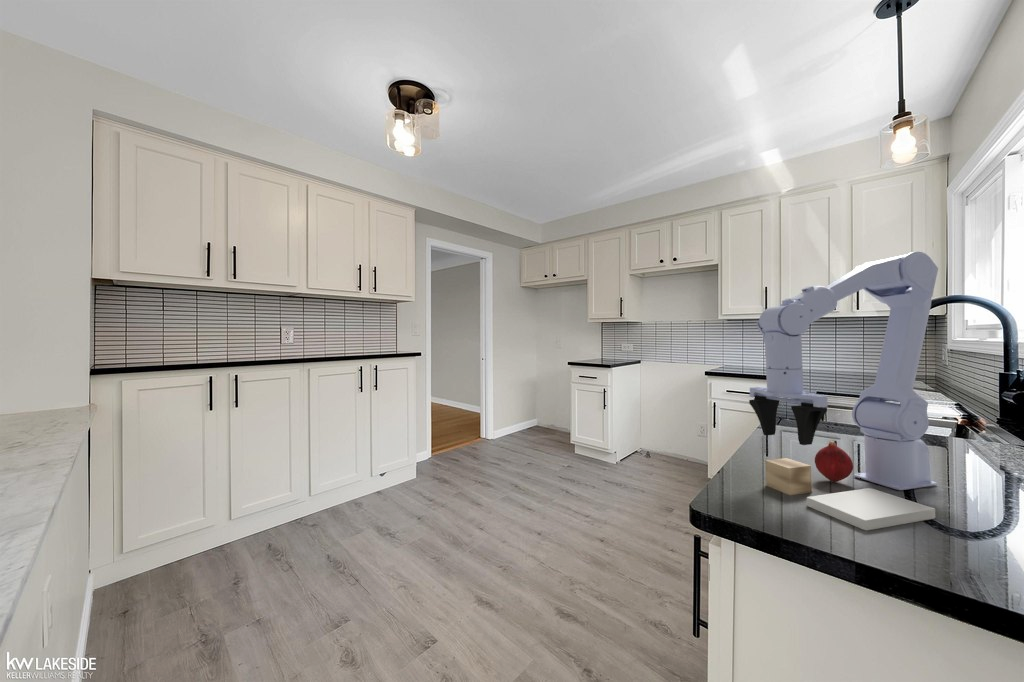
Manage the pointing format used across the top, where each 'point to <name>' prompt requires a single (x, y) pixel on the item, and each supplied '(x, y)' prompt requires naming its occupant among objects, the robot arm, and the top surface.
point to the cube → (788, 476)
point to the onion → (833, 462)
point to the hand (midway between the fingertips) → (786, 439)
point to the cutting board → (870, 508)
